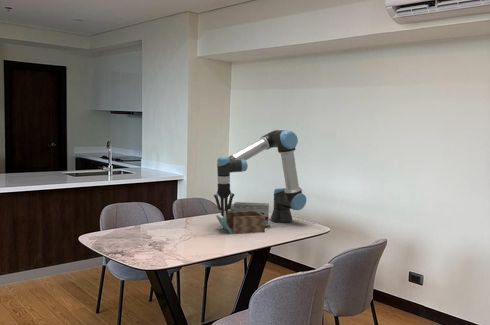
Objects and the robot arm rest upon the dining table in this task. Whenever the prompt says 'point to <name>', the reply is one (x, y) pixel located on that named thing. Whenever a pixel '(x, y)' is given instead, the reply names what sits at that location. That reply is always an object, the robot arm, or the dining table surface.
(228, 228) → the tailgate
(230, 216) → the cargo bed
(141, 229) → the dining table surface
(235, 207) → the grey rectangular block
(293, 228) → the dining table surface
